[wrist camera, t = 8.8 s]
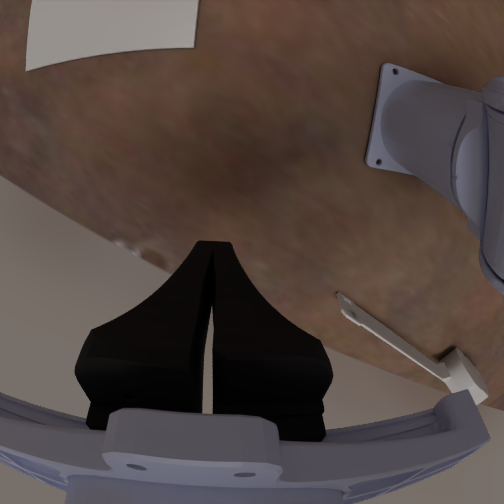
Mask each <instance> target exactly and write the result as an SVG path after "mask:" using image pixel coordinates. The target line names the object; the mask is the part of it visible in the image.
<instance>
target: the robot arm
mask: <svg viewBox="0 0 504 504" xmlns="http://www.w3.org/2000/svg"><path fill="white" fill-rule="evenodd" d="M393 69H395V70H396V74H395V75H394V74H393V72H392V70H393ZM377 159H380V162H379V163H378V164H376V160H377ZM365 162H366V164H367V165H368V166H369V167H373V168H378V169H384V170H389V171H395V172H400V173H405V174H410V175H415V176H416V177H418V178H419V179H420V180H422V181H423V182H425V183H426V184H427V185H429V186H430V187H431V188H433V189H434V190H435V191H437V192H438V193H439V194H440V195H442V196H443V197H444V198H446V199H447V200H448V201H449V202H451V203H452V204H453V205H454V206H456V207H457V208H458V209H459V210H460V211H462V212H463V213H464V214H465V215H466V217H467V220H468V230H469V231H470V232H472V233H473V234H474V235H475V236H476V237H477V238H478V239H479V240H480V241H481V242H480V248H479V263H480V267H481V269H482V272H483V274H484V275H485V277H486V279H487V280H488V281H489V282H490V284H491V285H492V286H493V287H494V288H495V289H496V290H498V291H499V292H500V293H501V294H503V295H504V76H498V77H493V78H492V79H491V80H490V81H489V82H488V83H487V85H484V86H483V87H482V92H478V91H474V90H470V89H465V88H461V87H456V86H451V85H446V84H444V83H442V82H439V81H437V80H434V79H432V78H429V77H427V76H424V75H422V74H419V73H417V72H414V71H411V70H408V69H406V68H403V67H400V66H397V65H394V64H391V63H384V64H383V65H382V67H381V73H380V80H379V87H378V93H377V99H376V105H375V111H374V117H373V122H372V128H371V133H370V138H369V143H368V148H367V153H366V158H365ZM211 307H212V310H213V325H214V334H213V349H212V351H213V353H212V354H213V414H202V400H203V369H204V368H203V367H204V352H205V344H206V338H207V331H208V325H209V319H210V313H211ZM75 376H76V378H77V380H78V382H79V384H80V385H81V387H82V389H83V390H84V392H85V393H86V395H87V397H88V398H89V400H90V401H91V403H90V407H89V411H88V415H87V419H86V418H81V417H78V416H73V415H69V414H66V413H62V412H58V411H54V410H51V409H47V408H44V407H41V406H37V405H34V404H31V403H28V402H25V401H22V400H19V399H17V398H14V397H11V396H8V395H5V394H3V393H0V462H2V463H4V464H5V465H7V466H9V467H12V468H13V469H15V470H17V471H19V472H21V473H23V474H26V475H28V476H30V477H32V478H34V479H37V480H39V481H41V482H43V483H46V484H48V485H51V486H54V487H56V488H58V489H61V490H64V491H66V492H67V493H66V500H65V504H353V503H357V502H361V501H364V500H368V499H371V498H374V497H377V496H380V495H384V494H387V493H390V492H392V491H395V490H398V489H401V488H403V487H406V486H409V485H412V484H414V483H417V482H419V481H421V480H424V479H427V478H429V477H431V476H434V475H436V474H438V473H441V472H443V471H445V470H447V469H450V468H452V467H454V466H455V465H457V464H458V463H460V462H461V461H463V460H464V459H465V458H467V457H469V456H470V455H471V454H473V453H474V452H476V451H477V450H479V449H480V448H481V447H483V446H484V445H485V444H486V443H488V442H489V441H490V439H491V438H490V436H489V433H488V431H487V428H486V426H485V424H484V422H483V419H482V417H481V415H480V413H479V411H478V408H477V406H476V404H475V402H474V400H473V398H472V396H471V394H470V392H469V390H468V389H465V390H462V391H459V392H456V393H453V394H449V395H447V396H445V397H444V398H442V399H441V400H440V401H439V402H438V403H437V404H436V405H435V407H434V408H432V409H429V410H425V411H422V412H418V413H414V414H410V415H406V416H402V417H397V418H393V419H388V420H384V421H379V422H374V423H369V424H363V425H357V426H351V427H344V428H337V429H329V430H325V426H324V421H323V416H322V414H323V412H324V405H323V401H322V399H323V397H324V396H325V394H326V392H327V390H328V388H329V386H330V384H331V383H332V379H333V371H332V367H331V363H330V361H329V358H328V356H327V354H326V351H325V349H324V347H323V345H322V343H321V341H320V340H319V339H317V338H315V337H314V336H312V335H310V334H308V333H307V332H305V331H303V330H302V329H300V328H299V327H297V326H296V325H294V324H293V323H292V322H290V321H289V320H287V319H286V318H285V317H284V316H283V315H281V314H280V313H279V312H278V311H277V310H276V309H275V308H273V307H272V306H271V305H270V304H269V303H268V302H267V300H266V299H265V298H264V297H263V296H262V295H261V294H260V293H259V291H258V290H257V289H256V287H255V286H254V285H253V283H252V282H251V281H250V279H249V278H248V276H247V275H246V273H245V271H244V270H243V268H242V266H241V264H240V263H239V261H238V259H237V257H236V254H235V252H234V249H233V246H232V244H231V243H230V242H219V241H198V242H197V243H196V244H195V246H194V247H193V249H192V251H191V252H190V253H189V255H188V256H187V258H186V259H185V260H184V261H183V263H182V264H181V265H180V267H179V268H178V269H177V270H176V271H175V272H174V273H173V274H172V276H171V277H170V278H169V279H168V280H167V281H166V282H165V283H164V284H163V285H162V286H161V287H160V288H159V289H158V290H157V291H155V292H154V293H153V294H152V295H151V296H149V297H148V298H147V299H146V300H144V301H143V302H142V303H140V304H139V305H137V306H136V307H135V308H133V309H131V310H130V311H128V312H126V313H125V314H123V315H121V316H119V317H118V318H116V319H114V320H112V321H110V322H108V323H105V324H103V325H101V326H99V327H97V328H94V329H92V330H91V331H90V333H89V335H88V337H87V339H86V340H85V342H84V344H83V347H82V349H81V352H80V355H79V357H78V360H77V362H76V366H75Z"/></svg>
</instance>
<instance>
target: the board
mask: <svg viewBox="0 0 504 504" xmlns="http://www.w3.org/2000/svg"><path fill="white" fill-rule="evenodd" d="M199 3H200V0H32V6H31V12H30V20H29V29H28V40H27V55H26V71H31V70H34V69H38V68H42V67H45V66H49V65H54V64H58V63H62V62H67V61H72V60H77V59H82V58H88V57H94V56H100V55H107V54H114V53H122V52H132V51H143V50H157V49H182V48H195V40H196V30H197V20H198V11H199Z"/></svg>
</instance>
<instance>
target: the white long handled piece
mask: <svg viewBox="0 0 504 504" xmlns="http://www.w3.org/2000/svg"><path fill="white" fill-rule="evenodd" d="M336 297H337V300H338V303H339V306H340V309H341V312H342V313H343V314H344V316H345V317H347V318H348V319H350V320H351V321H353V322H354V323H356V324H357V325H359V326H360V325H361V326H363V327H364V328H366V329H367V330H369V331H370V332H372V333H373V334H375V335H376V336H378V337H379V338H380V339H382V340H383V341H385V342H386V343H388V344H389V345H391V346H392V347H394V348H395V349H397V350H398V351H400V352H401V353H403V354H404V355H405V356H407V357H408V358H410V359H411V360H413V361H414V362H416V363H417V364H419V365H420V366H422V367H423V368H425V369H426V370H428V371H429V372H430V373H432V374H433V375H435V376H436V377H438V378H439V379H441V380H442V381H444V382H445V383H446V385H447V386H448V388H449V389H450V391H451V392H452V394H453V393H456V392H459V391H462V390H465V389H468V390H469V392H470V394H471V396H472V398H473V400H474V402H475V404H476V406H477V405H478V404H479V403H481V402H482V401H483V400H485V399H486V398H487V397H488V389H487V387H486V385H485V383H484V381H483V379H482V377H481V375H480V374H479V373H478V371H477V370H476V368H475V367H474V365H473V364H472V363H471V361H470V360H469V359H468V358H467V357H465V355H464V354H463V353H462V352H461V351H460V350H459V349H458V348H457V347H456V348H455V349H454V350H453V351H451V352H450V353H449V354H448V355H446V356H445V357H444V358H443V359H441V360H440V361H439V364H435V363H434V362H432V361H431V360H430V359H428V358H427V357H426V356H424V355H423V354H422V353H420V352H419V351H418V350H416V349H415V348H414V347H412V346H411V345H410V344H408V343H407V342H406V341H404V340H403V339H402V338H400V337H399V336H398V335H396V334H395V333H394V332H392V331H391V330H389V329H388V328H387V327H385V326H384V325H383V324H381V323H380V322H379V321H377V320H376V319H375V318H373V317H372V316H370V315H369V314H368V313H366V312H365V311H364V310H362V309H361V308H360V307H358V306H357V305H355V303H354V302H353V301H351V300H350V299H348V298H347V297H345V296H344V295H342V294H341V293H339V292H338V293H337V294H336ZM345 301H347V302H348V303H349V304H350V305H349V304H348V303H346V302H345ZM349 312H350V313H351V314H353V315H354V316H352V315H351V314H349Z"/></svg>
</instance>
